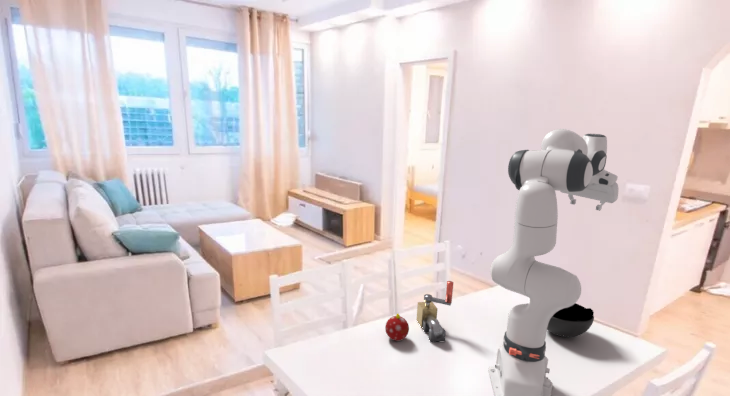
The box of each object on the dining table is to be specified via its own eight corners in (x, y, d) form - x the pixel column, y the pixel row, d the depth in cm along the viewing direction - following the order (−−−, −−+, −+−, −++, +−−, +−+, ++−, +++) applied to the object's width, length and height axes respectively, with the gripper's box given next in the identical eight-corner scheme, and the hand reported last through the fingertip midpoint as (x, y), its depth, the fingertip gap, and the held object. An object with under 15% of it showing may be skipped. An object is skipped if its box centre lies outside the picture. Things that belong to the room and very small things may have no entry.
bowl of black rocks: (581, 325, 155) (588, 282, 151) (597, 352, 136) (605, 304, 132) (529, 316, 160) (534, 275, 156) (537, 342, 141) (543, 295, 137)
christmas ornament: (391, 347, 134) (392, 321, 132) (381, 334, 141) (382, 310, 139) (412, 343, 137) (414, 317, 135) (401, 330, 145) (403, 306, 143)
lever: (422, 301, 148) (424, 278, 146) (424, 298, 150) (426, 275, 149) (450, 307, 143) (452, 284, 142) (452, 304, 146) (454, 281, 144)
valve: (416, 320, 153) (418, 298, 151) (430, 319, 154) (432, 297, 152) (430, 343, 137) (432, 319, 135) (446, 342, 138) (448, 318, 136)
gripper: (558, 172, 151) (555, 203, 157) (616, 182, 136) (610, 216, 142) (565, 167, 155) (561, 197, 160) (622, 177, 140) (616, 210, 146)
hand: (585, 206), depth 151 cm, fingers open, 8 cm apart
